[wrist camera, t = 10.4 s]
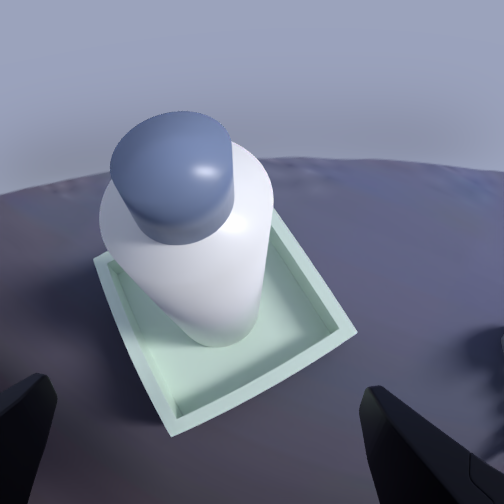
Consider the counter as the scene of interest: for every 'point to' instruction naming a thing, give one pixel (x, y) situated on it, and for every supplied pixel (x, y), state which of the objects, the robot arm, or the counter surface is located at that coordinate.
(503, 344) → the valve
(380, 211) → the counter surface
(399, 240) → the counter surface
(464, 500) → the robot arm
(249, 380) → the shallow mint tray
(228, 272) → the bottle
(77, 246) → the counter surface
